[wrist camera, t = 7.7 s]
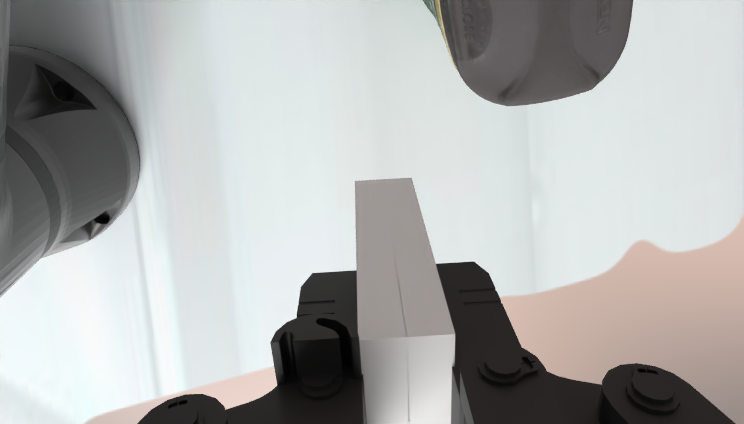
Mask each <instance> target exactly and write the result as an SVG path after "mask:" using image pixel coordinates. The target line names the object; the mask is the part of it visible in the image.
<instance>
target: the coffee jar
mask: <svg viewBox="0 0 744 424" xmlns="http://www.w3.org/2000/svg"><path fill="white" fill-rule="evenodd" d="M423 1H424V3H425V5H426V6H427V8H428V9H429V10H430V12H431V13H432V14H433V15H434V17H435V19H436V20H437V22H438V25H439V27H440V29H441V32H442V35H443V38H444V40H445V43H446V45H447V48H448V51H449V54H450V56H451V59H452V61H453V64H454V66H455V67H456V69H457V70H458V72H459V74H460V76H461V77H462V79H463V80H464V82H465V83H466V85H467V86H468V87H469V88H470V89H471V90H472V91H473V92H475V93H476V94H477V95H479V96H480V97H482V98H484V99H486V100H488V101H490V102H493V103H496V104H500V105H505V106H518V105H529V104H536V103H542V102H547V101H552V100H557V99H562V98H566V97H570V96H573V95H576V94H580V93H583V92H586V91H589V90H591V89H593V88H594V87H595V86H596V85H597V84H598V83H599V82H601V81H602V80H603V79H604V78H605V77H606V76H607V75H608V74H609V73H610V71H611V70H612V69H613V67H614V66H615V64H616V63H617V61H618V59H619V58H620V56H621V54H622V52H623V49H624V47H625V44H626V41H627V38H628V33H629V27H630V21H631V14H632V6H633V0H423Z"/></svg>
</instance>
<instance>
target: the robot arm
mask: <svg viewBox="0 0 744 424" xmlns="http://www.w3.org/2000/svg"><path fill="white" fill-rule="evenodd" d="M10 10H11V0H0V297H1V296H2V295H3V294H4V293H5V292H6V291H7V290H8V289H10V288H11V287H12V286H13V285H14V284H15V283H16V282H17V281H18V280H19V279H20V278H21V277H22V276H23V275H24V274H25V273H26V272H27V271H28V270H29V269H30V268H31V267H32V266H33V265H34V264H35V263H36V262H37V261H38V260H39V259H40V258H43V257H46V256H49V255H52V254H55V253H58V252H61V251H63V250H66V249H69V248H72V247H75V246H78V245H81V244H83V243H85V242H87V241H89V240H91V239H93V238H95V237H96V236H98V235H99V234H101V233H102V232H103V231H105V230H106V229H107V228H108V227H109V226H110V225H111V224H112V223H113V222H114V221H115V220H116V219H117V218H118V217H119V215H120V214H121V213H122V212H123V211H124V210H125V208H126V207H127V206H128V204H129V202H130V201H131V199H132V197H133V195H134V192H135V189H136V186H137V182H138V177H139V154H138V148H137V143H136V140H135V136H134V134H133V131H132V128H131V126H130V124H129V122H128V120H127V118H126V116H125V114H124V113H123V111H122V110H121V108H120V107H119V105H118V104H117V102H116V101H115V100H114V99H113V97H112V96H111V95H110V94H109V93H108V92H107V91H106V89H105V88H104V87H103V86H102V85H100V84H99V83H98V82H97V81H96V80H95V79H94V78H93V77H91V76H90V75H89V74H87V73H86V72H85V71H83V70H82V69H80V68H79V67H77V66H76V65H74V64H72V63H70V62H69V61H67V60H65V59H63V58H60V57H58V56H56V55H53V54H51V53H48V52H45V51H42V50H38V49H34V48H29V47H23V46H11V45H9V34H10ZM355 208H356V262H357V271H341V272H325V273H312V275H311V276H310V277H309V278H308V279H307V281H306V282H305V283H304V284H303V285H302V286H301V291H300V297H299V305H298V310H297V318H296V319H294V320H291V321H289V322H287V323H286V324H284V325H283V326H282V327H281V328H280V329H279V330H277V331H276V333H275V335H274V337H273V339H272V341H271V349H272V355H273V361H274V367H275V373H276V379H277V387H275V388H274V389H273V390H272V391H271V392H269V393H267V394H266V395H264V396H263V397H261V398H259V399H256V400H254V401H251V402H249V403H246V404H242V405H239V406H236V407H233V408H230V409H227V410H225V408H224V406H223V405H222V404H221V403H220V402H219V401H218V400H217V399H216V398H213V397H210V396H206V395H204V394H190V395H183V396H180V397H176V398H173V399H170V400H167V401H165V402H164V403H162V404H160V405H158V406H157V407H155V408H153V409H152V410H151V411H150V412H149V413H148V414H147V415H146V416H144V418H142V419H141V420H140V421H139V423H138V424H735V423H734V422H733V421H732V420H730V419H729V418H728V417H727V416H726V415H725V414H724V413H722V412H721V411H720V410H719V409H718V408H717V407H715V406H714V405H713V404H712V403H711V402H710V401H708V400H707V399H706V398H705V397H704V396H703V395H701V394H700V393H699V392H698V391H696V389H694V388H693V387H692V386H691V385H690V384H688V383H687V382H685V381H684V380H682V379H681V378H679V377H678V376H676V375H675V374H673V373H671V372H668V371H666V370H663V369H661V368H658V367H655V366H650V365H643V364H637V363H636V364H625V365H619V366H617V367H615V368H613V369H611V370H609V371H608V372H607V374H606V375H605V377H604V379H603V380H602V385H600V384H593V383H588V382H582V381H576V380H571V379H567V378H562V377H559V376H556V375H554V374H552V373H549V372H547V371H546V369H545V367H544V366H543V364H542V363H541V362H540V361H539V359H538V358H537V357H536V356H535V355H533V354H531V353H530V352H528V351H527V350H525V349H524V348H522V347H521V345H520V343H519V341H518V338H517V336H516V334H515V332H514V329H513V327H512V325H511V322H510V320H509V318H508V316H507V314H506V311H505V309H504V307H503V304H502V303H501V300H500V298H499V295H498V293H497V291H495V286H494V284H493V282H492V280H491V277H490V275H489V273H487V272H486V271H485V270H484V269H482V268H481V267H480V266H479V265H477V264H476V263H475V262H460V263H444V264H435V260H434V256H433V253H432V249H431V246H430V242H429V239H428V235H427V232H426V228H425V224H424V221H423V217H422V214H421V210H420V207H419V203H418V199H417V196H416V192H415V189H414V185H413V182H412V178H400V179H383V180H366V181H355Z"/></svg>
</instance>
